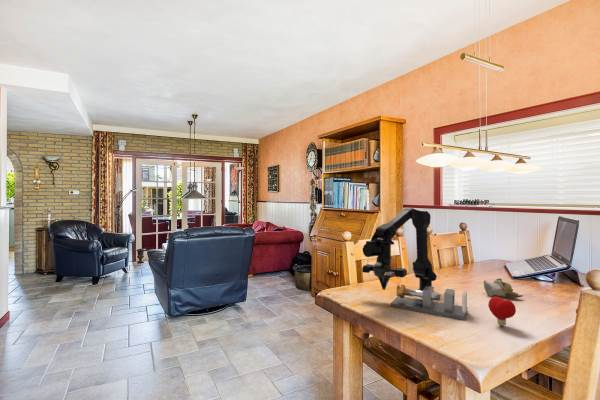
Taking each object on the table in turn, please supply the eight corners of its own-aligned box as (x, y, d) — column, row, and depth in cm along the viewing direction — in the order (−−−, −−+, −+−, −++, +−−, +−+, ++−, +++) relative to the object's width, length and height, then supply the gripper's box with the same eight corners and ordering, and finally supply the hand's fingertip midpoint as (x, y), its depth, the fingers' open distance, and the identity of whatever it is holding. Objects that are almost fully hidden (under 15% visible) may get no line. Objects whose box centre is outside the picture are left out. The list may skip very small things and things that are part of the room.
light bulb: (483, 322, 121) (483, 295, 121) (496, 320, 123) (497, 293, 123) (506, 332, 112) (507, 303, 112) (520, 329, 115) (521, 301, 114)
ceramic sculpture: (479, 274, 159) (513, 277, 156) (478, 291, 159) (512, 295, 157) (488, 280, 148) (524, 283, 146) (487, 298, 149) (523, 302, 146)
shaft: (399, 295, 145) (400, 282, 145) (441, 302, 136) (441, 288, 136) (396, 298, 140) (396, 285, 140) (439, 306, 131) (439, 292, 131)
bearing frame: (398, 298, 148) (398, 280, 148) (467, 310, 133) (467, 290, 133) (390, 306, 138) (390, 286, 138) (464, 320, 123) (464, 297, 123)
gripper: (357, 255, 144) (357, 290, 144) (400, 260, 134) (400, 298, 134) (366, 251, 153) (366, 284, 153) (407, 255, 143) (407, 291, 143)
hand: (384, 289), depth 146 cm, fingers closed
